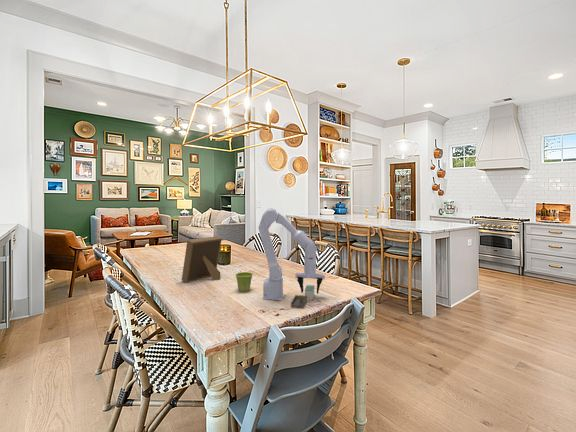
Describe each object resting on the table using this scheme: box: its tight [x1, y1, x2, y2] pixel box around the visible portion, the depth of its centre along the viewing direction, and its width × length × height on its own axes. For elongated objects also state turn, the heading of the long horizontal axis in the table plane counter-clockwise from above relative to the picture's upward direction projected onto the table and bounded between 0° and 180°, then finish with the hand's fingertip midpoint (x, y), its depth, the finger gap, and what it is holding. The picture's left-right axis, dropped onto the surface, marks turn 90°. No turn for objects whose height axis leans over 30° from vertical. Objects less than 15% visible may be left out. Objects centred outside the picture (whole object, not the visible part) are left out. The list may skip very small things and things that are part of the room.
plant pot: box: [234, 271, 254, 293], centre depth 159 cm, size 9×9×9 cm
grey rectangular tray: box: [290, 294, 308, 309], centre depth 140 cm, size 6×11×2 cm, turn 168°
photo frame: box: [181, 235, 222, 283], centre depth 178 cm, size 15×22×25 cm
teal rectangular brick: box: [304, 284, 316, 301], centre depth 149 cm, size 4×8×5 cm, turn 170°
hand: (309, 292), depth 149 cm, fingers open, 7 cm apart
